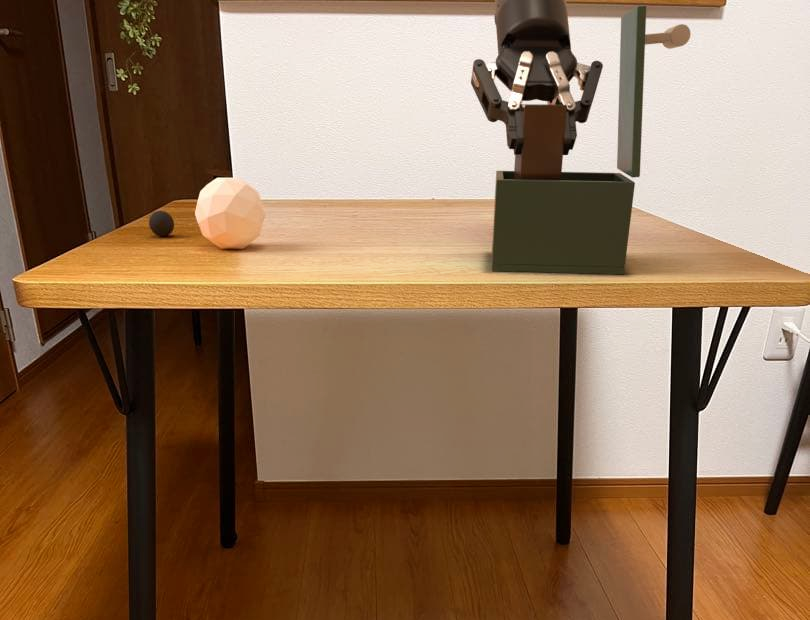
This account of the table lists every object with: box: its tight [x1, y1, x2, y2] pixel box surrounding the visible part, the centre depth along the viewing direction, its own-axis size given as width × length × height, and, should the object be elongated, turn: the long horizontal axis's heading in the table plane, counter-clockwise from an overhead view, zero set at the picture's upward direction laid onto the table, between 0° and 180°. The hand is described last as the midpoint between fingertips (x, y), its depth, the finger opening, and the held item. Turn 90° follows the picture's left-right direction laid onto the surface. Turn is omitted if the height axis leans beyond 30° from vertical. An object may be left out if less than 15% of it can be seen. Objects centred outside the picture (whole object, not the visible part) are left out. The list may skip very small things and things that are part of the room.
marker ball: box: [148, 210, 175, 237], centre depth 108 cm, size 3×3×3 cm
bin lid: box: [616, 4, 691, 179], centre depth 86 cm, size 14×11×5 cm
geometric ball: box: [194, 177, 266, 250], centre depth 100 cm, size 8×8×8 cm
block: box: [513, 103, 567, 180], centre depth 90 cm, size 4×4×9 cm
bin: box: [491, 170, 636, 275], centre depth 93 cm, size 13×11×9 cm
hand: (542, 148), depth 88 cm, fingers closed on block, 4 cm apart
